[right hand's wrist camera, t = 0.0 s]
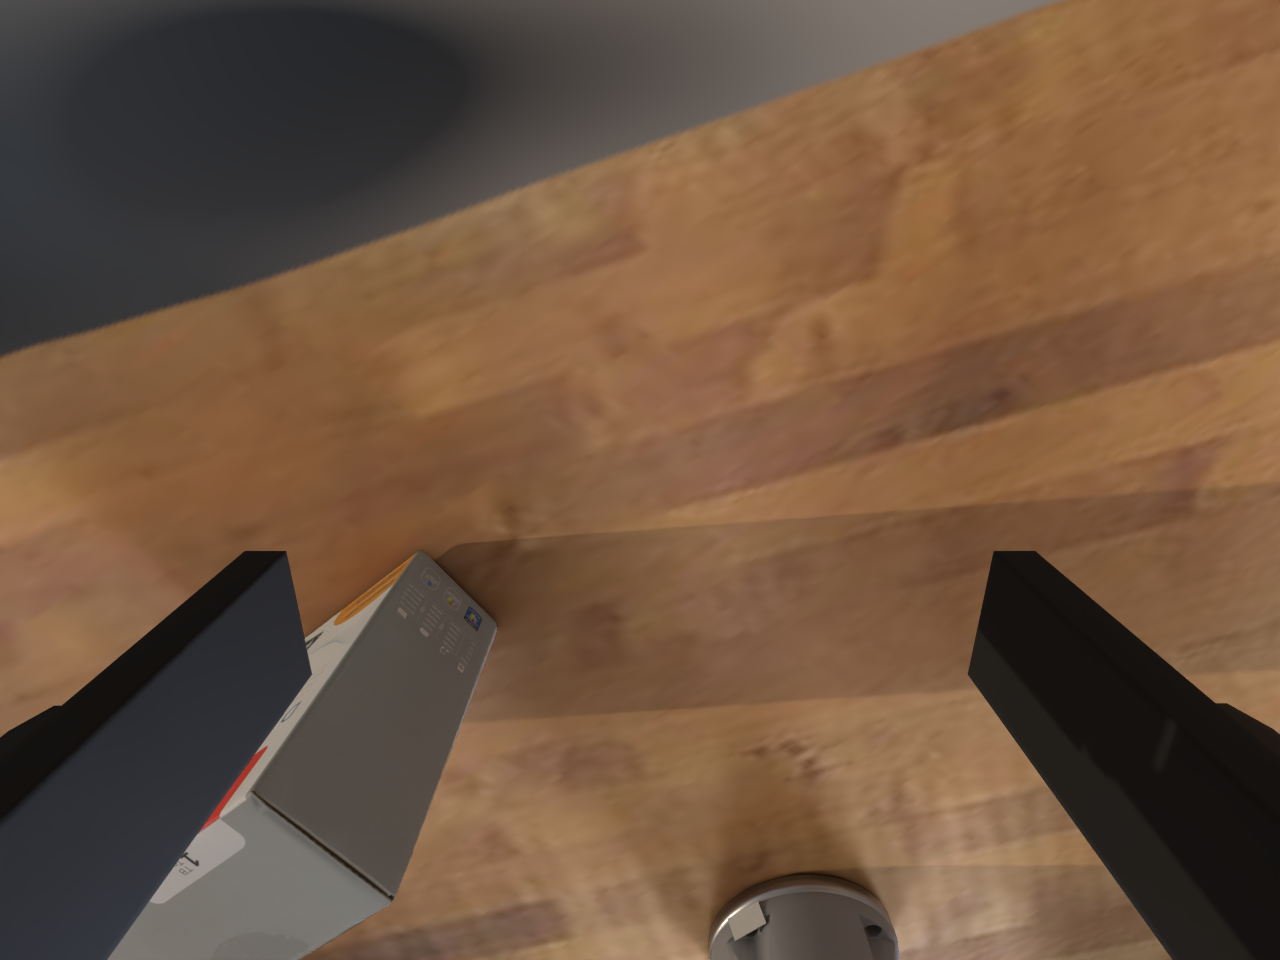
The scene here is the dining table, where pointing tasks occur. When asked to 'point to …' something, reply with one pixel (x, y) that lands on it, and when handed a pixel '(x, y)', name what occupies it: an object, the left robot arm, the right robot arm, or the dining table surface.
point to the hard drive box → (330, 783)
